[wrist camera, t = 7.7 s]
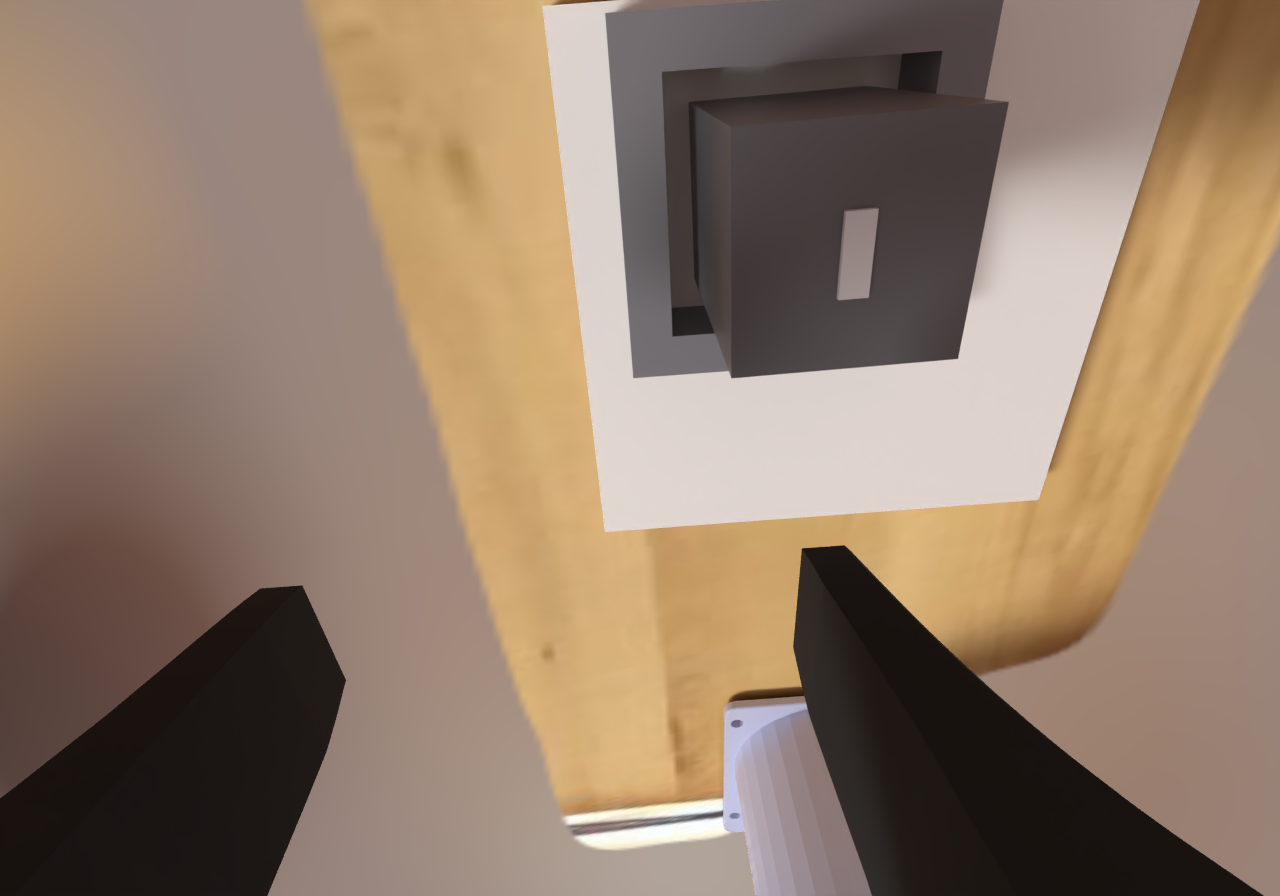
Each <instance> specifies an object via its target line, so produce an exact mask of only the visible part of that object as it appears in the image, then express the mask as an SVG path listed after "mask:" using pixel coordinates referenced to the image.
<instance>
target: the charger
mask: <svg viewBox="0 0 1280 896" xmlns="http://www.w3.org/2000/svg"><path fill="white" fill-rule="evenodd" d="M1008 104H1009V102H1006V101H997V100H988V99H979V98H971V97H962V96H953V95H944V94H935V93H926V92H917V91H909V90H900V89H891V88H882V87H873V86H859V87H848V88H837V89H826V90H815V91H804V92H793V93H781V94H770V95H759V96H748V97H737V98H726V99H715V100H704V101H692V102H689V133H690V163H691V193H692V224H693V254H694V279H695V282H696V284H697V287H698V290H699V292H700V295H701V298H702V300H703V303H704V306H705V309H706V311H707V314H708V317H709V319H710V322H711V325H712V327H713V330H714V333H715V336H716V338H717V341H718V344H719V346H720V349H721V352H722V354H723V357H724V360H725V363H726V365H727V368H728V371H729V373H730V376H731V378H743V377H754V376H766V375H777V374H789V373H801V372H812V371H824V370H836V369H847V368H859V367H871V366H882V365H894V364H905V363H917V362H929V361H940V360H952V359H958V356H959V351H960V346H961V341H962V336H963V331H964V326H965V321H966V316H967V311H968V306H969V301H970V296H971V291H972V286H973V281H974V276H975V271H976V266H977V261H978V256H979V251H980V246H981V241H982V235H983V230H984V225H985V220H986V215H987V210H988V205H989V200H990V195H991V190H992V185H993V180H994V175H995V170H996V165H997V160H998V155H999V150H1000V145H1001V140H1002V135H1003V130H1004V125H1005V120H1006V115H1007V110H1008Z"/></svg>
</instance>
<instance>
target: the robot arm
mask: <svg viewBox="0 0 1280 896" xmlns="http://www.w3.org/2000/svg"><path fill="white" fill-rule="evenodd" d="M793 648H794V653H795V657H796V662H797V666H798V671H799V675H800V680H801V684H802V688H803V692H804V696H796V697H782V698H768V699H755V700H741V701H733V702H730V703H728V704H727V705H726V706H725V708H724V765H723V823H724V828H725V830H727V831H729V832H745V837H746V843H747V849H748V855H749V861H750V867H751V872H752V878H753V884H754V890H755V896H1263V895H1262V894H1260V893H1259V892H1258V891H1256V890H1255V889H1253V888H1251V887H1250V886H1249V885H1247V884H1246V883H1244V882H1243V881H1242V880H1240V879H1239V878H1237V877H1236V876H1234V875H1233V874H1231V873H1230V872H1228V871H1227V870H1225V869H1224V868H1222V867H1221V866H1220V865H1218V864H1217V863H1215V862H1214V861H1212V860H1211V859H1209V858H1208V857H1206V856H1205V855H1204V854H1202V853H1200V852H1199V851H1198V850H1196V849H1195V848H1193V847H1192V846H1190V845H1189V844H1187V843H1186V842H1184V841H1183V840H1182V839H1180V838H1179V837H1177V836H1176V835H1174V834H1173V833H1171V832H1170V831H1169V830H1167V829H1166V828H1165V827H1163V826H1162V825H1161V824H1159V823H1158V822H1156V821H1155V820H1154V819H1152V818H1151V817H1149V816H1148V815H1147V814H1145V813H1144V812H1143V811H1141V810H1140V809H1138V808H1137V807H1136V806H1134V805H1133V804H1132V803H1130V802H1129V801H1128V800H1126V799H1125V798H1124V797H1122V796H1121V795H1120V794H1119V793H1117V792H1116V791H1115V790H1113V789H1112V788H1111V787H1109V786H1108V785H1107V784H1106V783H1104V782H1103V781H1101V780H1100V779H1099V778H1098V777H1096V776H1095V775H1094V774H1092V773H1091V772H1090V771H1089V770H1087V769H1086V768H1085V767H1083V766H1082V765H1081V764H1080V763H1078V762H1077V761H1076V760H1074V759H1073V758H1072V757H1071V756H1069V755H1068V754H1067V753H1066V752H1064V751H1063V750H1062V749H1060V747H1058V746H1057V745H1056V744H1054V743H1053V742H1052V741H1051V740H1049V739H1048V738H1047V737H1046V736H1045V735H1044V734H1043V733H1041V732H1040V731H1039V730H1038V729H1036V728H1035V727H1034V726H1033V725H1032V724H1031V723H1029V722H1028V721H1027V720H1026V719H1025V718H1024V717H1023V716H1021V715H1020V714H1019V713H1018V712H1017V711H1016V710H1014V709H1013V708H1012V707H1011V706H1010V705H1009V704H1007V703H1006V702H1005V701H1004V700H1003V699H1002V698H1001V697H999V696H998V695H997V694H996V693H995V692H994V691H993V690H991V689H990V688H989V687H988V686H987V685H986V684H985V683H984V682H983V681H982V680H980V679H979V678H978V677H977V676H976V675H975V674H974V673H973V672H972V671H971V670H969V669H968V668H967V667H966V666H965V665H964V664H963V663H962V662H961V661H960V660H959V659H958V658H957V657H956V656H955V655H954V654H953V653H952V652H950V651H949V650H948V649H947V648H946V647H945V646H944V645H943V644H942V643H941V642H940V641H939V640H938V639H937V638H936V637H935V636H934V635H933V634H932V633H930V632H929V631H928V630H927V629H926V628H925V627H924V626H923V625H922V624H921V623H920V622H919V621H918V620H917V619H916V618H915V617H914V616H913V615H912V614H911V613H910V612H909V611H908V610H907V609H906V608H905V607H904V606H903V605H902V604H901V603H900V602H899V601H898V600H897V599H896V598H895V596H894V595H893V594H892V593H891V592H890V591H889V590H888V589H887V588H886V587H885V586H884V585H883V584H882V583H881V582H880V581H879V580H878V579H877V578H876V577H875V576H874V575H873V574H872V573H871V572H870V571H869V570H868V568H867V567H866V566H865V565H864V564H863V563H862V562H861V561H860V560H859V559H858V558H857V557H856V556H855V555H854V554H853V553H852V552H851V551H850V550H849V549H848V548H847V547H846V546H845V545H844V546H830V547H817V548H803V549H802V554H801V566H800V577H799V588H798V599H797V611H796V622H795V633H794V645H793ZM345 682H346V679H345V677H344V675H343V673H342V671H341V669H340V666H339V664H338V662H337V660H336V658H335V656H334V653H333V651H332V649H331V647H330V645H329V643H328V640H327V638H326V636H325V634H324V632H323V629H322V627H321V625H320V623H319V621H318V619H317V616H316V614H315V612H314V610H313V608H312V606H311V603H310V602H309V599H308V597H307V595H306V593H305V590H304V589H303V586H289V587H278V588H277V587H276V588H262V589H259V590H258V591H257V592H255V593H254V594H253V595H251V596H250V597H249V598H247V599H246V600H245V601H243V602H242V603H241V604H240V605H238V606H237V607H236V608H235V609H233V610H232V611H231V612H230V613H229V614H227V615H226V616H225V617H224V618H222V619H221V620H220V621H219V622H218V623H216V624H215V625H214V626H213V627H212V628H210V629H209V630H208V631H207V632H206V633H204V634H203V635H202V636H201V637H200V638H199V639H197V640H196V641H195V642H194V643H192V644H191V645H190V646H189V647H188V648H186V649H185V650H184V651H183V652H182V653H181V654H179V655H178V656H177V657H176V658H175V659H173V660H172V661H171V662H170V663H169V664H168V665H166V666H165V667H164V668H163V669H162V670H160V671H159V672H158V673H157V674H156V675H154V676H153V677H152V678H151V679H150V680H148V681H147V682H146V683H145V684H143V685H142V686H141V687H140V688H139V689H137V690H136V691H135V692H134V693H133V694H131V695H130V696H129V697H128V698H127V699H126V700H124V701H123V702H122V703H121V704H119V705H118V706H117V707H116V708H115V709H113V710H112V711H111V712H110V713H108V715H106V716H105V717H104V718H102V719H101V720H100V721H99V722H97V723H96V724H95V725H94V726H92V727H91V728H90V729H88V730H87V731H86V732H85V733H83V734H82V735H81V736H79V737H78V738H77V739H76V740H74V741H73V742H72V743H71V744H69V745H68V746H67V747H65V748H64V749H63V750H62V751H60V752H59V753H58V754H57V755H55V756H54V757H53V758H52V759H50V760H49V761H48V762H46V763H45V764H44V765H43V766H41V767H40V768H39V769H37V770H36V771H35V772H34V773H32V774H31V775H30V776H29V777H27V778H26V779H25V780H24V781H22V782H21V783H20V784H18V785H17V786H16V787H15V788H13V789H12V790H11V791H9V792H8V793H7V794H6V795H4V796H3V797H1V798H0V896H267V895H268V893H269V890H270V888H271V885H272V883H273V880H274V878H275V876H276V873H277V871H278V869H279V866H280V864H281V861H282V859H283V857H284V854H285V852H286V849H287V847H288V844H289V842H290V839H291V837H292V835H293V833H294V830H295V828H296V825H297V823H298V820H299V818H300V816H301V813H302V811H303V808H304V806H305V803H306V801H307V799H308V796H309V794H310V791H311V789H312V786H313V783H314V781H315V779H316V776H317V774H318V771H319V769H320V766H321V764H322V761H323V759H324V756H325V754H326V751H327V748H328V745H329V741H330V738H331V734H332V731H333V727H334V724H335V720H336V717H337V713H338V709H339V705H340V701H341V697H342V693H343V689H344V685H345Z"/></svg>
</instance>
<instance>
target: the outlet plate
mask: <svg viewBox="0 0 1280 896" xmlns="http://www.w3.org/2000/svg"><path fill="white" fill-rule="evenodd" d="M1199 2H1200V0H615V1H601V2H588V3H575V4H562V5H549V6H542V7H543V15H544V24H545V32H546V41H547V49H548V57H549V66H550V74H551V83H552V91H553V99H554V108H555V116H556V125H557V133H558V141H559V150H560V158H561V167H562V175H563V183H564V192H565V200H566V209H567V217H568V225H569V234H570V242H571V251H572V259H573V267H574V276H575V284H576V293H577V301H578V309H579V318H580V326H581V335H582V343H583V351H584V360H585V368H586V377H587V385H588V394H589V402H590V410H591V419H592V427H593V436H594V444H595V452H596V461H597V469H598V478H599V486H600V494H601V503H602V511H603V520H604V528H605V532H610V531H624V530H637V529H651V528H664V527H678V526H691V525H705V524H718V523H732V522H745V521H759V520H772V519H786V518H799V517H813V516H826V515H840V514H853V513H867V512H880V511H894V510H907V509H921V508H934V507H948V506H961V505H975V504H989V503H1002V502H1016V501H1029V500H1039V497H1040V494H1041V491H1042V487H1043V484H1044V481H1045V478H1046V475H1047V472H1048V469H1049V466H1050V463H1051V460H1052V457H1053V453H1054V450H1055V447H1056V444H1057V441H1058V438H1059V435H1060V432H1061V429H1062V426H1063V423H1064V419H1065V416H1066V413H1067V410H1068V407H1069V404H1070V401H1071V398H1072V395H1073V392H1074V389H1075V385H1076V382H1077V379H1078V376H1079V373H1080V370H1081V367H1082V364H1083V361H1084V358H1085V355H1086V351H1087V348H1088V345H1089V342H1090V339H1091V336H1092V333H1093V330H1094V327H1095V324H1096V321H1097V317H1098V314H1099V311H1100V308H1101V305H1102V302H1103V299H1104V296H1105V293H1106V290H1107V287H1108V283H1109V280H1110V277H1111V274H1112V271H1113V268H1114V265H1115V262H1116V259H1117V256H1118V253H1119V249H1120V246H1121V243H1122V240H1123V237H1124V234H1125V231H1126V228H1127V225H1128V222H1129V219H1130V215H1131V212H1132V209H1133V206H1134V203H1135V200H1136V197H1137V194H1138V191H1139V188H1140V185H1141V181H1142V178H1143V175H1144V172H1145V169H1146V166H1147V163H1148V160H1149V157H1150V154H1151V151H1152V147H1153V144H1154V141H1155V138H1156V135H1157V132H1158V129H1159V126H1160V123H1161V120H1162V117H1163V113H1164V110H1165V107H1166V104H1167V101H1168V98H1169V95H1170V92H1171V89H1172V86H1173V83H1174V79H1175V76H1176V73H1177V70H1178V67H1179V64H1180V61H1181V58H1182V55H1183V52H1184V49H1185V45H1186V42H1187V39H1188V36H1189V33H1190V30H1191V27H1192V24H1193V21H1194V18H1195V15H1196V12H1197V8H1198V5H1199ZM859 86H873V87H882V88H891V89H900V90H909V91H917V92H926V93H935V94H944V95H953V96H962V97H971V98H979V99H988V100H997V101H1006V102H1009V104H1008V110H1007V115H1006V120H1005V125H1004V130H1003V135H1002V140H1001V145H1000V150H999V155H998V160H997V165H996V170H995V175H994V180H993V185H992V190H991V195H990V200H989V205H988V210H987V215H986V220H985V225H984V230H983V235H982V241H981V246H980V251H979V256H978V261H977V266H976V271H975V276H974V281H973V286H972V291H971V296H970V301H969V306H968V311H967V316H966V321H965V326H964V331H963V336H962V341H961V346H960V351H959V356H958V359H952V360H940V361H929V362H917V363H905V364H894V365H882V366H871V367H859V368H847V369H836V370H824V371H812V372H801V373H789V374H777V375H766V376H754V377H743V378H731V376H730V373H729V371H728V368H727V365H726V363H725V360H724V357H723V354H722V352H721V349H720V346H719V344H718V341H717V338H716V336H715V333H714V330H713V327H712V325H711V322H710V319H709V317H708V314H707V311H706V309H705V306H704V303H703V300H702V298H701V295H700V292H699V290H698V287H697V284H696V282H695V279H694V254H693V224H692V193H691V163H690V133H689V102H692V101H704V100H715V99H726V98H737V97H748V96H759V95H770V94H781V93H793V92H804V91H815V90H826V89H837V88H848V87H859Z"/></svg>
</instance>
